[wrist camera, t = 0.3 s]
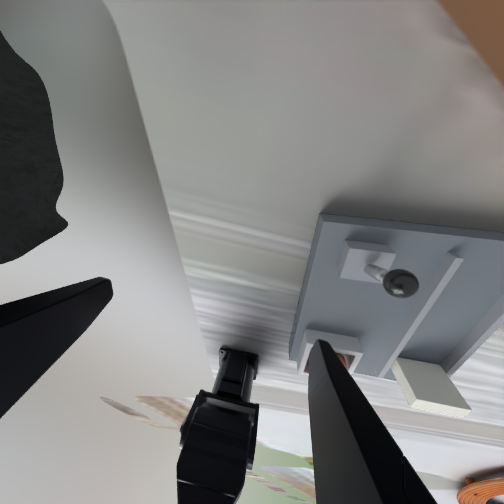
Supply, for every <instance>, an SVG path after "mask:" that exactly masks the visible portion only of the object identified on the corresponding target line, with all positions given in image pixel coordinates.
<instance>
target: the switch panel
mask: <svg viewBox="0 0 504 504" xmlns="http://www.w3.org/2000/svg"><path fill="white" fill-rule="evenodd" d="M367 264H374V265H377V266H379V267H382V268H384V269H387V270H389V271H391V270H394V269H404V270H408V271H410V272H411V273H413V274H414V275H415V276H416V277H417V279H418V281H419V290H418V292H417V293H416V294H415V295H413V296H412V297H409V298H396V297H393V296H391V295H390V294H388V293H387V292H386V291H385V289H384V287H383V283H381V282H379V281H377V280H376V279H374V278H372V277H370V276H368V275H366V274H365V272H364V267H365V265H367ZM503 322H504V232H494V231H484V230H475V229H465V228H455V227H446V226H436V225H427V224H417V223H407V222H398V221H388V220H378V219H369V218H359V217H349V216H340V215H330V214H320V213H319V217H318V222H317V226H316V230H315V235H314V239H313V243H312V247H311V252H310V256H309V260H308V265H307V269H306V273H305V277H304V282H303V286H302V290H301V295H300V299H299V303H298V307H297V312H296V316H295V320H294V325H293V329H292V333H291V337H290V342H289V360H293V361H297V370H298V374H300V375H305V376H309V353H310V350H311V348H312V347H313V345H314V343H315V341H316V340H317V339H322V340H325V341H328V342H329V344H330V345H331V346H332V348H333V349H334V351H335V352H338V353H341V354H342V355H343V356H344V358H345V361H346V365H347V368H348V372H349V373H350V375H351V376H352V374H353V372H354V373H359V374H364V375H370V376H375V377H380V378H385V379H390V380H395V381H397V380H396V378H395V376H394V374H393V372H392V369H391V365H392V364H393V363H394V361H395V360H396V358H397V357H399V358H404V359H410V360H415V361H421V362H426V363H432V364H437V365H440V366H441V367H442V369H443V370H444V372H445V373H446V374H447V376H448V377H449V378H450V377H451V376H452V375H453V373H454V372H455V371H456V370H457V369H458V368H459V367H460V366H461V365H462V364H463V363H464V362H465V361H466V360H467V359H468V358H469V357H470V356H471V355H472V354H473V353H474V352H475V351H476V350H477V349H478V348H479V347H480V346H481V345H482V344H483V343H484V342H485V341H486V340H487V339H488V338H489V337H490V336H491V335H492V333H493V332H494V331H495V330H496V329H497V328H498V327H499V326H500V325H501V324H502V323H503Z"/></svg>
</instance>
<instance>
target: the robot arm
mask: <svg viewBox="0 0 504 504" xmlns="http://www.w3.org/2000/svg"><path fill="white" fill-rule="evenodd" d="M112 297H113V289H112V283H111V280H110V279H107V278H103V277H97V278H94V279H90V280H87V281H83V282H79V283H76V284H72V285H69V286H66V287H62V288H58V289H55V290H51V291H48V292H44V293H41V294H37V295H34V296H30V297H27V298H23V299H20V300H16V301H13V302H9V303H6V304H3V305H0V418H1V417H2V416H3V415H4V414H5V413H6V412H7V411H8V410H9V409H10V408H11V407H12V406H13V405H14V404H15V403H16V402H17V401H18V400H19V399H20V398H21V397H22V396H23V395H24V394H25V392H27V391H28V389H30V387H31V386H32V385H33V384H34V383H35V382H36V381H37V380H38V379H39V378H40V377H41V376H42V375H43V374H44V373H45V372H46V371H47V370H48V369H49V368H50V367H51V366H52V365H53V364H54V363H55V362H56V361H57V360H58V359H59V358H60V357H61V356H62V354H63V353H64V352H65V351H66V350H67V349H68V348H69V347H70V346H71V345H72V344H73V343H74V342H75V341H76V340H77V339H78V338H79V337H80V336H81V335H82V334H83V333H84V332H85V331H86V329H87V328H88V327H89V326H90V325H91V324H92V322H93V321H94V320H95V319H96V317H97V316H98V315H99V314H100V312H101V311H102V310H103V309H104V307H105V306H106V305H107V304H108V303H109V301H110V300H111V299H112ZM219 365H220V368H219V371H218V374H217V377H216V381H215V384H214V387H213V390H212V393H210V392H206V391H204V390H200V392H199V394H198V395H196V398H195V401H194V403H193V405H192V408H191V410H190V412H189V413H188V415H187V417H186V418H185V420H184V422H183V424H182V425H181V428H180V432H181V440H180V446H179V449H180V450H181V453H180V456H179V459H178V462H177V495H178V504H236V502H237V501H238V499H239V497H240V495H241V491H242V489H243V486H244V482H245V474H246V468H247V469H249V470H252V466H253V460H254V454H255V446H256V437H257V425H258V414H259V404H257V403H256V404H254V403H250V396H251V389H252V383H253V380H255V379H256V374H257V366H258V355H255V354H250V353H245V352H240V351H235V350H230V349H225V348H220V350H219ZM308 401H309V415H310V427H311V440H312V453H313V465H314V478H315V491H316V503H317V504H437V502H436V501H435V499H434V498H433V496H432V495H431V493H430V492H429V491H428V489H427V488H426V486H425V485H424V483H423V482H422V480H421V479H420V478H419V476H418V475H417V473H416V472H415V470H414V469H413V467H412V466H411V464H410V463H409V461H408V460H407V458H406V457H405V456H403V452H402V451H401V449H400V448H399V446H398V445H397V443H396V442H395V440H394V439H393V437H392V436H391V434H390V433H389V432H388V430H387V429H386V427H385V426H384V424H383V423H382V421H381V420H380V418H379V417H378V415H377V414H376V412H375V411H374V409H373V408H372V406H371V405H370V403H369V402H368V400H367V399H366V397H365V396H364V394H363V393H362V391H361V390H360V388H359V387H358V385H357V384H356V382H355V381H354V379H353V378H352V376H351V375H350V373H349V372H348V370H347V369H346V367H345V366H344V364H343V363H342V361H341V360H340V358H339V357H338V355H337V354H336V352H335V351H334V349H333V348H332V346H331V345H330V344H329V342H328V341H325V340H322V339H317V340H316V341H315V343H314V345H313V347H312V348H311V350H310V353H309V381H308Z"/></svg>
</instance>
